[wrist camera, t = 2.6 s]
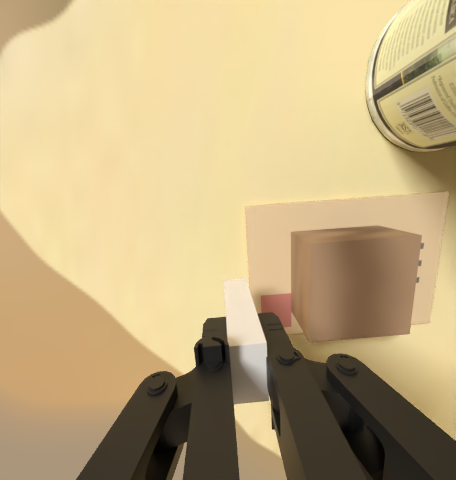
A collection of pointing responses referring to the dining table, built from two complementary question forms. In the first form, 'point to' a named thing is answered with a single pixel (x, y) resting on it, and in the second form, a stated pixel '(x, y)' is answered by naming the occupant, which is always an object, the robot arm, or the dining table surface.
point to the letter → (330, 217)
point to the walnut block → (353, 281)
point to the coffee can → (416, 77)
